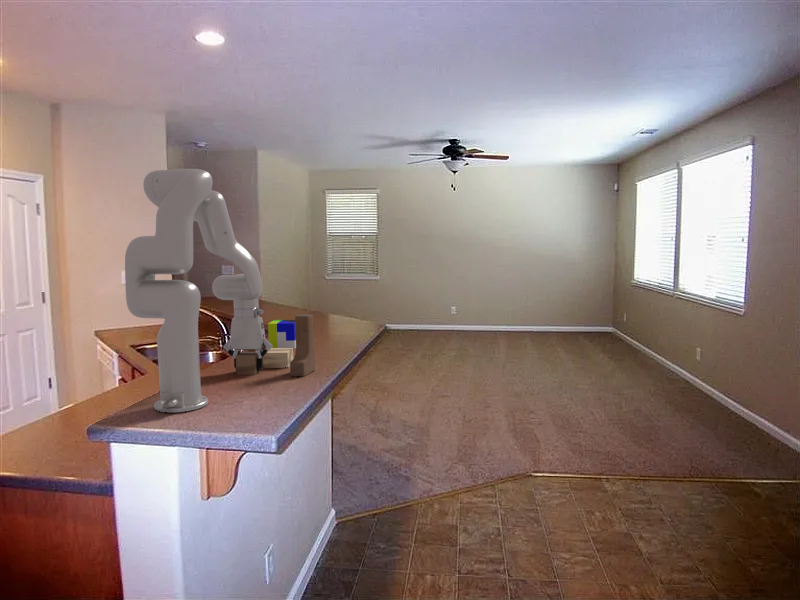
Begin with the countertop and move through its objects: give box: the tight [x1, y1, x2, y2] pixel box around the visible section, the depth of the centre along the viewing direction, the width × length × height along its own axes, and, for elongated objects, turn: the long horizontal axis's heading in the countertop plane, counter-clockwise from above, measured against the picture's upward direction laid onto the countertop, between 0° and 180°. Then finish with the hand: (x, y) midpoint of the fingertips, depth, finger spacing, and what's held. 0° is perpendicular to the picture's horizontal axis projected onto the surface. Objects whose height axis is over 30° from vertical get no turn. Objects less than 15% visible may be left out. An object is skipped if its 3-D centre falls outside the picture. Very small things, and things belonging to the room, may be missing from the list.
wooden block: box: [289, 313, 316, 378], centre depth 171 cm, size 9×4×18 cm, turn 166°
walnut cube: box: [235, 351, 262, 376], centre depth 174 cm, size 6×6×6 cm
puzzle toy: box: [267, 319, 296, 350], centre depth 216 cm, size 10×10×10 cm
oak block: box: [263, 348, 294, 369], centre depth 184 cm, size 8×8×5 cm
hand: (248, 369), depth 174 cm, fingers closed on walnut cube, 6 cm apart
